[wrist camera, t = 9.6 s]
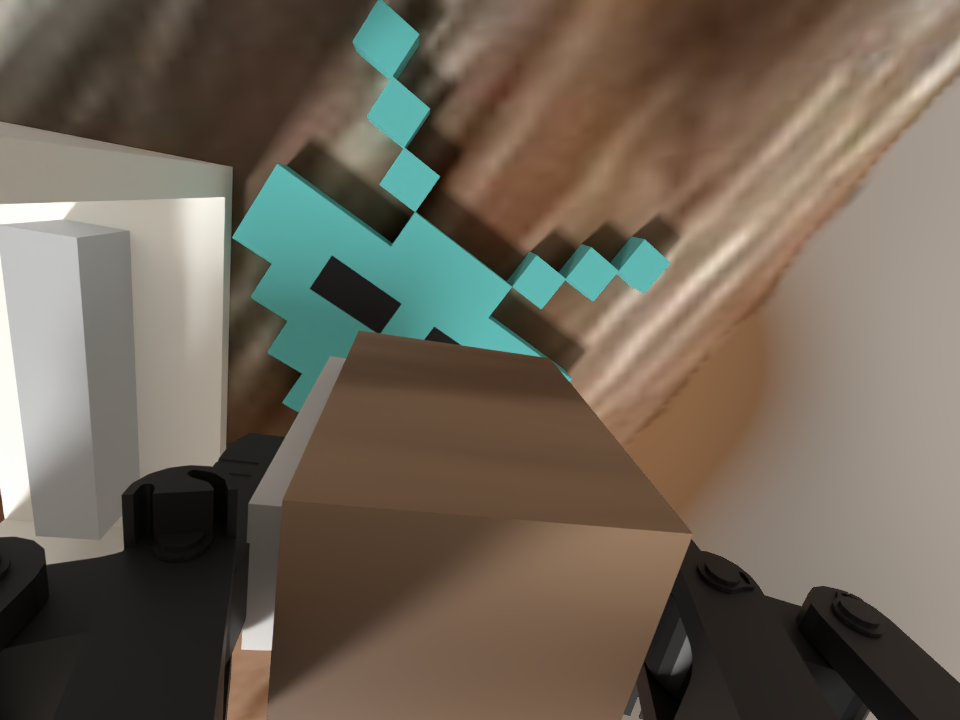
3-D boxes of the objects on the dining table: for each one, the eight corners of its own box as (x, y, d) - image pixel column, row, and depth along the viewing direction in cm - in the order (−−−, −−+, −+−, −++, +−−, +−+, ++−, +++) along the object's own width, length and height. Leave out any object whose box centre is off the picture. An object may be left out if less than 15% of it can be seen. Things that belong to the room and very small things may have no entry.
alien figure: (382, 15, 24) (188, 328, 28) (379, -3, 22) (169, 339, 25) (653, 257, 30) (461, 487, 33) (670, 262, 28) (464, 506, 31)
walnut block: (359, 330, 12) (283, 500, 5) (550, 358, 13) (693, 533, 6) (339, 500, 13) (260, 801, 7) (511, 515, 14) (592, 793, 8)
